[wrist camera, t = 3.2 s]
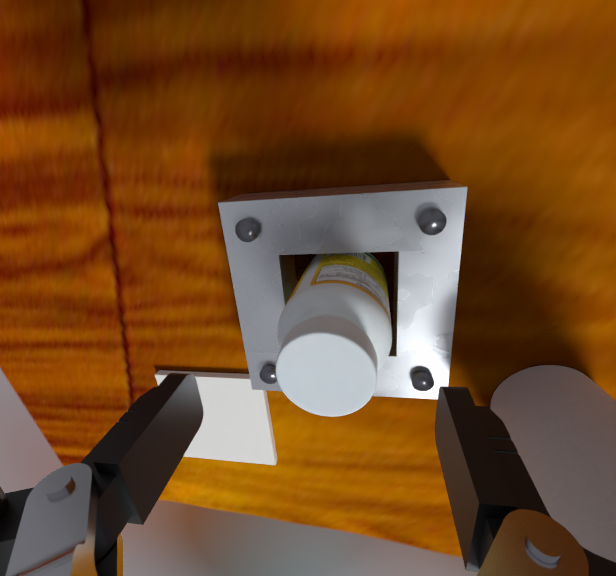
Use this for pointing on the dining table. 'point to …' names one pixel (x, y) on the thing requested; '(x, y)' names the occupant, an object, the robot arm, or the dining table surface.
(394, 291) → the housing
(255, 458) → the mat
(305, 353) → the supplement bottle
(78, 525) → the robot arm
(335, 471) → the dining table surface
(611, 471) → the coffee cup
